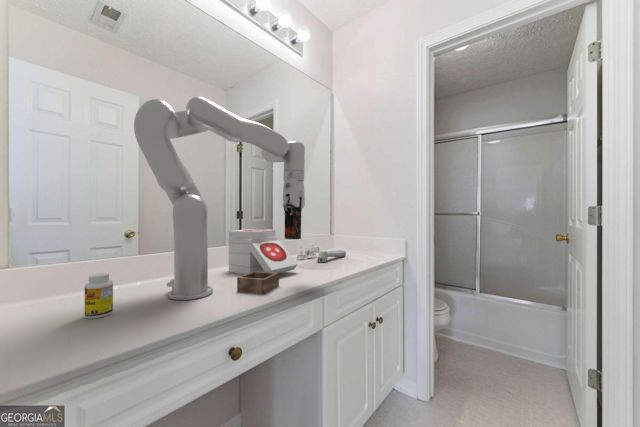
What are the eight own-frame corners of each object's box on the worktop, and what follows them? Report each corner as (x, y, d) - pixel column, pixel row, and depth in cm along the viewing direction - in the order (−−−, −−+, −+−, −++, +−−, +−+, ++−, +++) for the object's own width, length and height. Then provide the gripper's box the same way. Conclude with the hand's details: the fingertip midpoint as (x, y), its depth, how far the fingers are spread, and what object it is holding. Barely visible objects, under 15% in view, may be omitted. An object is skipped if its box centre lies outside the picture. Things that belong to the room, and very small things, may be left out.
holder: (237, 291, 88) (237, 277, 88) (253, 283, 98) (253, 271, 98) (264, 294, 85) (264, 279, 85) (278, 285, 94) (278, 273, 94)
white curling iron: (347, 250, 158) (323, 249, 137) (346, 261, 157) (322, 262, 137) (339, 249, 161) (315, 248, 140) (338, 261, 160) (314, 261, 140)
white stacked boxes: (267, 281, 101) (267, 233, 101) (222, 271, 120) (222, 230, 120) (301, 272, 116) (301, 230, 116) (256, 264, 135) (256, 228, 135)
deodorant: (282, 238, 99) (283, 197, 99) (297, 237, 102) (298, 198, 102) (287, 239, 94) (288, 196, 94) (303, 239, 96) (304, 197, 96)
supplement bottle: (79, 317, 66) (79, 276, 66) (104, 310, 72) (104, 271, 72) (93, 320, 64) (93, 278, 64) (118, 312, 69) (118, 273, 70)
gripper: (293, 172, 89) (292, 227, 88) (311, 179, 105) (310, 226, 105) (273, 173, 91) (272, 226, 91) (293, 180, 107) (293, 225, 107)
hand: (292, 225), depth 98 cm, fingers closed on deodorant, 5 cm apart
